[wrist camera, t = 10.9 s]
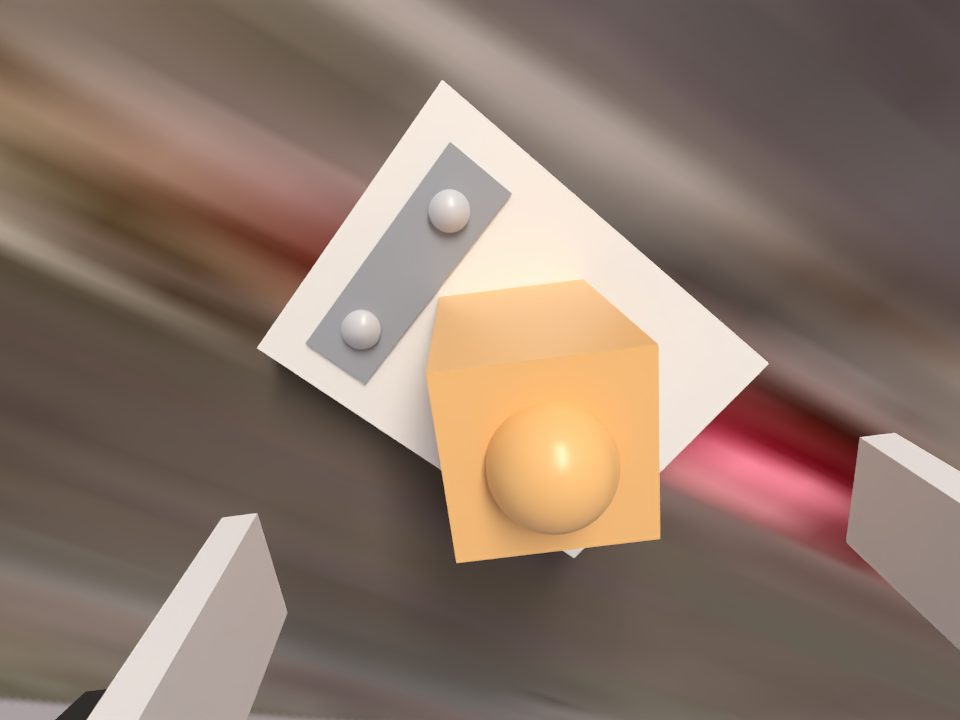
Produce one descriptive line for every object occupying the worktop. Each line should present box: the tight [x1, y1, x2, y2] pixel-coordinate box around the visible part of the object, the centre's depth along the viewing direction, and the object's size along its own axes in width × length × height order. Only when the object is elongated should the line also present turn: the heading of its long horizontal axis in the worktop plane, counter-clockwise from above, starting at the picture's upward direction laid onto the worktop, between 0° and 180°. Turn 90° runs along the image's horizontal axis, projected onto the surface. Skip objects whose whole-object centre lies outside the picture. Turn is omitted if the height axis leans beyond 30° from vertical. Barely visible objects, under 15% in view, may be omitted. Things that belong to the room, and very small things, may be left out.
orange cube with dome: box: [426, 279, 660, 563], centre depth 18 cm, size 6×6×11 cm
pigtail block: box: [257, 80, 769, 558], centre depth 23 cm, size 18×13×7 cm
